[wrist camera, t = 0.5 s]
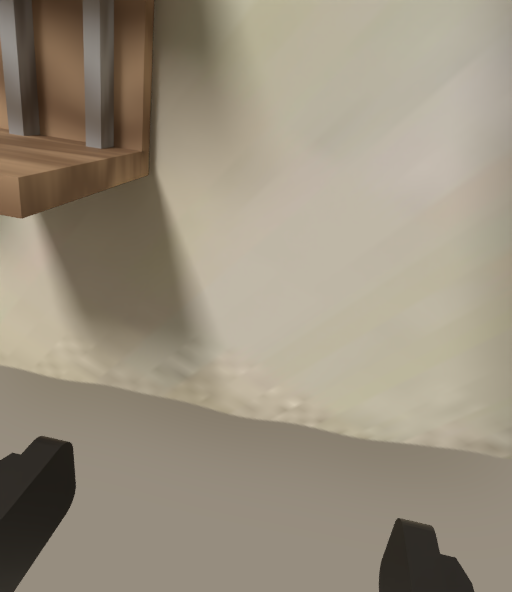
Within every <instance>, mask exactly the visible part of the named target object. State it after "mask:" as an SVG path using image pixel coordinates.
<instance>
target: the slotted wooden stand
mask: <svg viewBox="0 0 512 592" xmlns="http://www.w3.org/2000/svg"><path fill="white" fill-rule="evenodd" d="M153 21H154V0H0V215H5V216H11V217H16V218H25V217H28V216H30V215H33V214H36V213H39V212H42V211H45V210H48V209H51V208H54V207H57V206H60V205H62V204H65V203H68V202H71V201H74V200H77V199H80V198H83V197H86V196H89V195H92V194H94V193H97V192H100V191H103V190H106V189H109V188H112V187H115V186H118V185H121V184H123V183H126V182H129V181H132V180H135V179H138V178H141V177H144V176H147V175H148V174H149V144H150V113H151V82H152V52H153Z"/></svg>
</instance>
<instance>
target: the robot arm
mask: <svg viewBox="0 0 512 592" xmlns="http://www.w3.org/2000/svg"><path fill="white" fill-rule="evenodd" d="M75 489H76V482H75V468H74V455H73V446H72V444H71V443H70V442H67V441H62V440H58V439H54V438H49V437H45V436H40V437H38V438H36V439H35V440H34V441H33V442H32V443H31V444H30V445H29V446H28V448H27V449H26V450H25V451H24V452H23V453H22V454H21V455H20V454H15V453H12V454H10V455H8V456H7V457H5V458H3V459H2V460H0V592H14V591H15V589H16V588H17V586H18V585H19V583H20V582H21V580H22V579H23V577H24V576H25V574H26V573H27V571H28V570H29V568H30V567H31V565H32V564H33V562H34V561H35V559H36V558H37V556H38V555H39V553H40V552H41V550H42V549H43V547H44V546H45V544H46V543H47V542H48V540H49V538H50V537H51V536H52V534H53V533H54V531H55V530H56V528H57V527H58V525H59V524H60V522H61V521H62V519H63V518H64V516H65V515H66V513H67V511H68V509H69V508H70V506H71V503H72V501H73V498H74V494H75ZM379 592H474V589H473V586H472V583H471V581H470V580H469V578H468V576H467V575H466V573H465V572H464V570H463V568H462V567H461V565H460V564H459V562H458V561H457V559H456V558H455V557H450V556H446V555H442V554H440V552H439V548H438V543H437V538H436V534H435V531H434V528H433V527H432V526H430V525H427V524H422V523H418V522H414V521H409V520H405V519H400V518H398V519H397V520H396V521H395V524H394V527H393V530H392V533H391V536H390V538H389V541H388V544H387V547H386V550H385V552H384V555H383V558H382V561H381V566H380V574H379Z"/></svg>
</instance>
